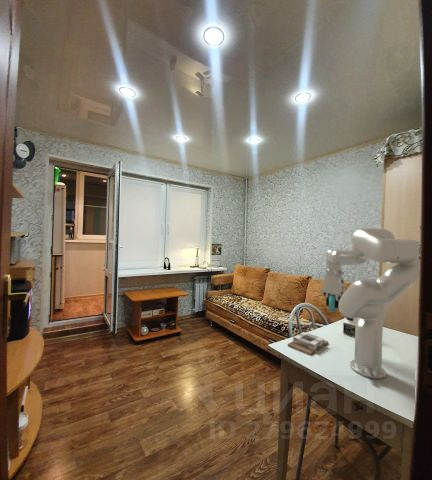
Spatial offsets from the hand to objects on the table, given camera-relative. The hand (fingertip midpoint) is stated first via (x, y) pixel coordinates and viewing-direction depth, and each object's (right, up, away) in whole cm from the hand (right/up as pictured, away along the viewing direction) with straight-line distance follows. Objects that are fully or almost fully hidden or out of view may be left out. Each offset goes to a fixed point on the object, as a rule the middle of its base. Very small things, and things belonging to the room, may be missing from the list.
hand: (332, 306), depth 121 cm
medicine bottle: (+17, -20, +10) cm, 28 cm away
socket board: (-15, -19, -4) cm, 24 cm away
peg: (0, -2, 0) cm, 2 cm away
